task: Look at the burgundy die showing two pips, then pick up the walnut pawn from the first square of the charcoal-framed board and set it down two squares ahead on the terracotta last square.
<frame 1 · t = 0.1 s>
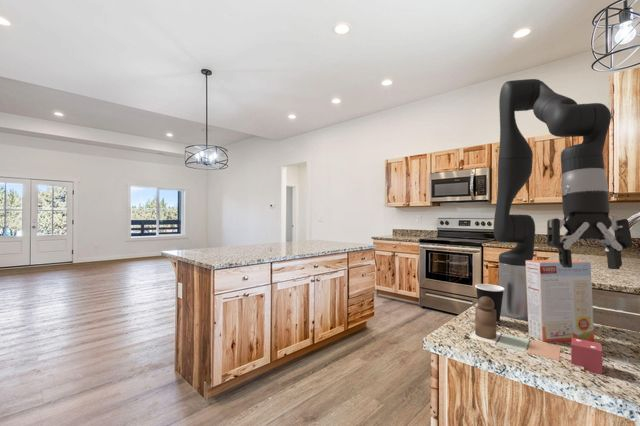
hand: (590, 268, 63), 22 cm above the worktop, tool pointing down, fingers open, 8 cm apart
cracker box: (559, 339, 81), on the worktop, touching board
pawn: (485, 335, 81), point 1 cm above the worktop, touching board
board: (513, 344, 77), on the worktop
dixie cup: (489, 323, 92), on the worktop
die: (585, 366, 67), on the worktop
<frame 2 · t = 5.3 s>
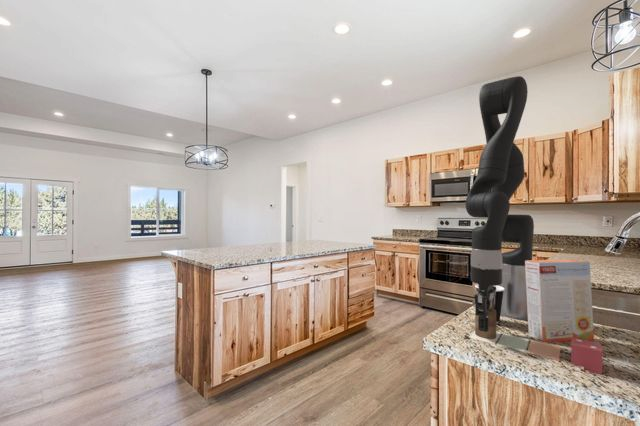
hand: (485, 327, 81), 3 cm above the worktop, tool pointing down, fingers closed on pawn, 5 cm apart
pawn: (485, 335, 81), point 1 cm above the worktop, touching board, gripper
everything else where it was.
when the fingers open (4 cm above the worktop, at t = 10.9 s): pawn drops 1 cm, resting on board.
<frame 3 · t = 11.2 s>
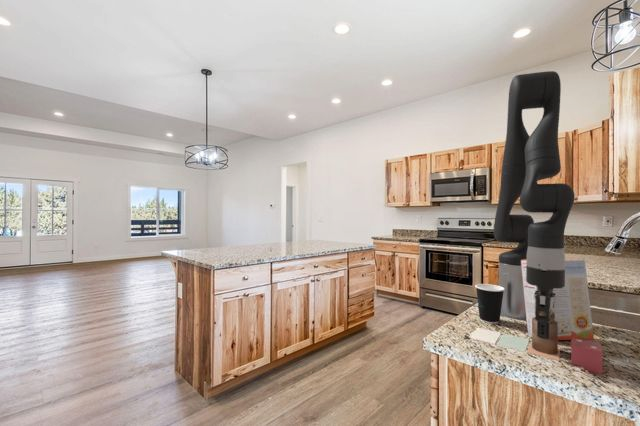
hand: (544, 332, 73), 5 cm above the worktop, tool pointing down, fingers open, 7 cm apart
cracker box: (559, 338, 81), on the worktop
pawn: (544, 349, 73), point 1 cm above the worktop, touching board
everything else where it was.
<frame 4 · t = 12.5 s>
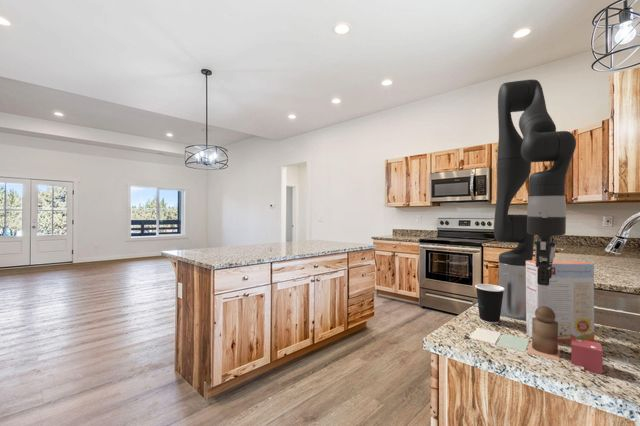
hand: (544, 281, 73), 17 cm above the worktop, tool pointing down, fingers open, 8 cm apart
cracker box: (558, 339, 81), on the worktop, touching gripper
everything else where it was.
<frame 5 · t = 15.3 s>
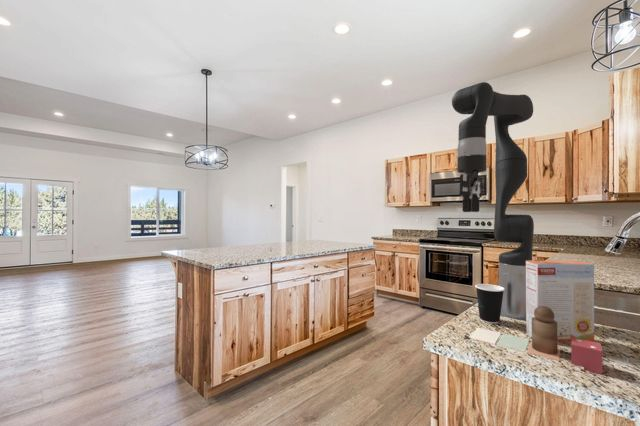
hand: (471, 211, 86), 34 cm above the worktop, tool pointing down, fingers open, 8 cm apart
cracker box: (558, 339, 81), on the worktop
everything else where it was.
at the end: pawn 0.1 cm from the target spot on the board, point 0.7 cm above the board's base; pawn tilted 2°; die moved 0.1 cm from its start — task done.
